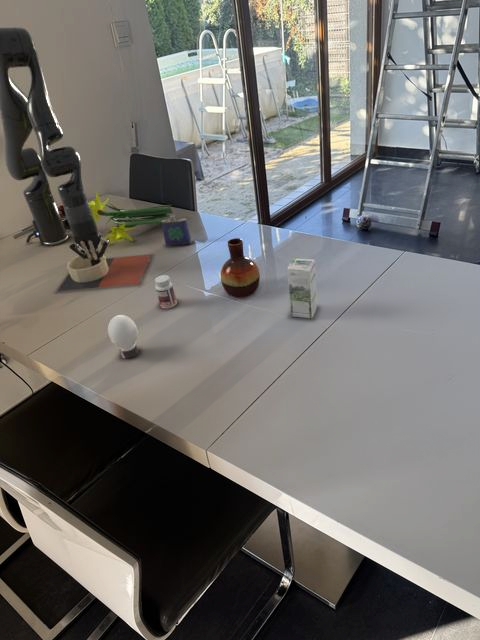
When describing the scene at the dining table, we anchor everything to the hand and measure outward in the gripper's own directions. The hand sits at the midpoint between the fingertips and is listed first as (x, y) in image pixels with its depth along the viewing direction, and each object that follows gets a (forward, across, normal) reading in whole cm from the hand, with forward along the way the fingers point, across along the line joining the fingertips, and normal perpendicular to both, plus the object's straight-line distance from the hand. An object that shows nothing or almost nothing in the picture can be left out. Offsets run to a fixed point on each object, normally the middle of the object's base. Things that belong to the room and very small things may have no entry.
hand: (98, 268), depth 154 cm
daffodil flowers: (+2, -6, -30) cm, 31 cm away
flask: (+2, -24, -17) cm, 29 cm away
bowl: (+2, +3, 0) cm, 4 cm away
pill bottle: (+2, -27, +23) cm, 35 cm away
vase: (+2, -48, +18) cm, 51 cm away
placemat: (+2, -2, 0) cm, 3 cm away
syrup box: (+2, -65, +32) cm, 72 cm away
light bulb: (+2, -21, +45) cm, 49 cm away
